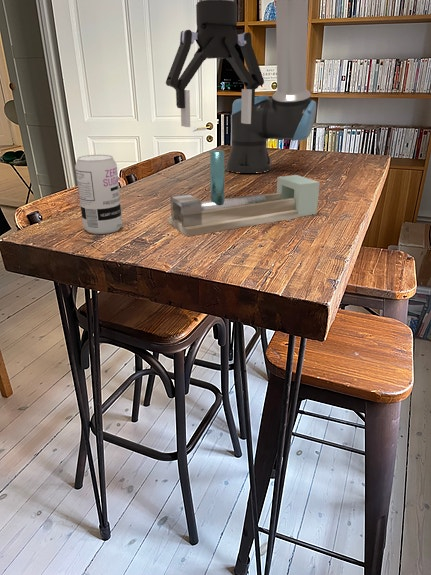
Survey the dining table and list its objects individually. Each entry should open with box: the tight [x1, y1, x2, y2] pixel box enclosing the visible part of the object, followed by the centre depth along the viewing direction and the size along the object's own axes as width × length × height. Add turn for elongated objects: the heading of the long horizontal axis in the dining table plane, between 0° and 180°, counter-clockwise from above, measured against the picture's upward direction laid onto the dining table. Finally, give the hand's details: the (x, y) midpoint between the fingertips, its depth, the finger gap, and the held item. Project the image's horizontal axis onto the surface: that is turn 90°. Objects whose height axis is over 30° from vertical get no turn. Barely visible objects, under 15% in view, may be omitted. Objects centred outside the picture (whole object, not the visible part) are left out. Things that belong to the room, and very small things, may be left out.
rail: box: [168, 192, 299, 237], centre depth 100 cm, size 10×28×6 cm, turn 117°
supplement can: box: [74, 154, 124, 235], centre depth 93 cm, size 8×8×15 cm
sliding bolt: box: [179, 149, 266, 220], centre depth 97 cm, size 3×20×14 cm, turn 117°
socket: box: [276, 174, 320, 218], centre depth 107 cm, size 9×6×8 cm, turn 27°
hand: (216, 125), depth 91 cm, fingers open, 13 cm apart
